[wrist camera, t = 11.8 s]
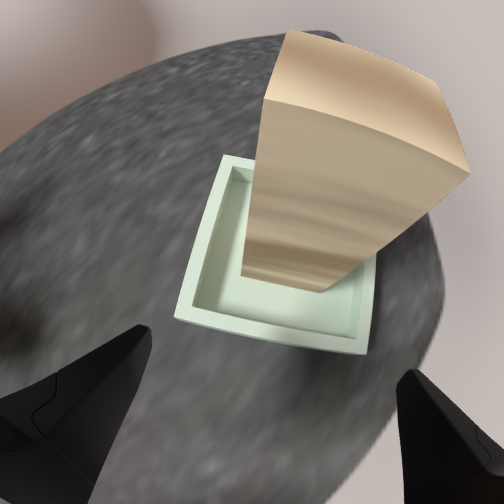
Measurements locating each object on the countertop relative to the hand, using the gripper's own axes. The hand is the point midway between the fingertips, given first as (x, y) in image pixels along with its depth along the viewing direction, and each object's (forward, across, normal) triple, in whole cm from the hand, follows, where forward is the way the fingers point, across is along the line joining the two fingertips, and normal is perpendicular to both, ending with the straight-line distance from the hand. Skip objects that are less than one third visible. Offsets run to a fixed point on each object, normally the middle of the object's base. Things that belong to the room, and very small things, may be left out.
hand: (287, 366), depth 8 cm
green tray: (+10, 0, +1) cm, 10 cm away
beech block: (+10, 0, +1) cm, 10 cm away
